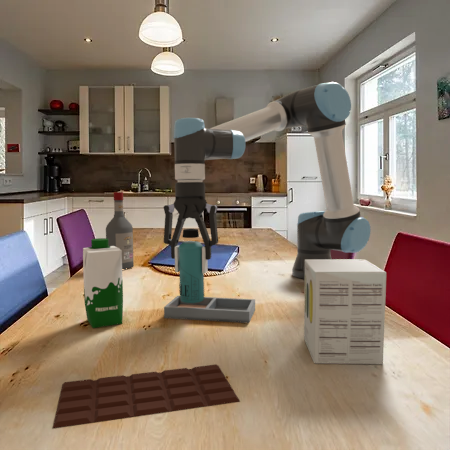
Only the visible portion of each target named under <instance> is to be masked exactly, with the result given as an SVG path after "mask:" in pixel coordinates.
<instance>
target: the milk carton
mask: <svg viewBox="0 0 450 450" xmlns="http://www.w3.org/2000/svg"><path fill="white" fill-rule="evenodd" d="M90 245H91V246H88V247H83V248H82V260H83V261H82V262H83V263H82V265H83V266H82V269H83V270H82V271H83V297H84V308H85V309H84V310H85V314H86V320H87V322H88V324H89V325H90V327H91V328H92V329H95V328H96V329H97V328H101V327H102V328H103V327H109V326H117V325H122V324H123V317H124V316H123V312H124V289H123V288H124V285H123V270H122V250H120V249H119V248H117V247H115V246H109V242H108V239H106V237H105V238H103V237H102V238H101V237H100V238H92V239H91V244H90Z"/></svg>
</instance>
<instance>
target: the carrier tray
mask: <svg viewBox="0 0 450 450" xmlns="http://www.w3.org/2000/svg"><path fill="white" fill-rule="evenodd" d="M255 311H256V298H255V299H254V298H236V297H234V298H231V297H216V296H215V297H211V296H204V300H203V301H201V302H197V303H185V302H182V301H181V299H180V295H176V296H175V297H174V298H173V299H172V300H170V301H169V302H168V303H167V304H166V305H165V306H164V307H163V318H164V319H174V320H189V321H190V320H192V321H193V320H194V321H206V322H207V321H208V322H224V323H225V322H226V323H243V324H250V323H251V320H252V318H253V315H254V313H255Z"/></svg>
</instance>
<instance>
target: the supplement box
mask: <svg viewBox="0 0 450 450" xmlns="http://www.w3.org/2000/svg"><path fill="white" fill-rule="evenodd" d="M386 293H387V272H386V271H385V270H383V269H382V268H379V267H378V266H377V265H375V264H373V263H372V262H370V261H369V260H367V259H360V258H359V259H358V258H357V259H356V258H355V259H354V258H353V259H350V258H349V259H347V258H346V259H345V258H343V259H341V258H339V259H337V258H335V259H334V258H333V259H305V279H304V304H303V305H304V309H303V310H304V311H303V312H304V313H303V314H304V316H303V319H304V320H303V321H304V322H303V339H304V342H305V344H306V347H307V349H308V352H309V354H310V357H311V359H312V362H313V363H314V364H340V365H341V364H344V365H345V364H346V365H348V364H349V365H351V364H352V365H383V364H384V344H385V343H384V341H385V324H386V323H385V320H386V317H385V315H386V299H387V298H386V297H387V295H386Z"/></svg>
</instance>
